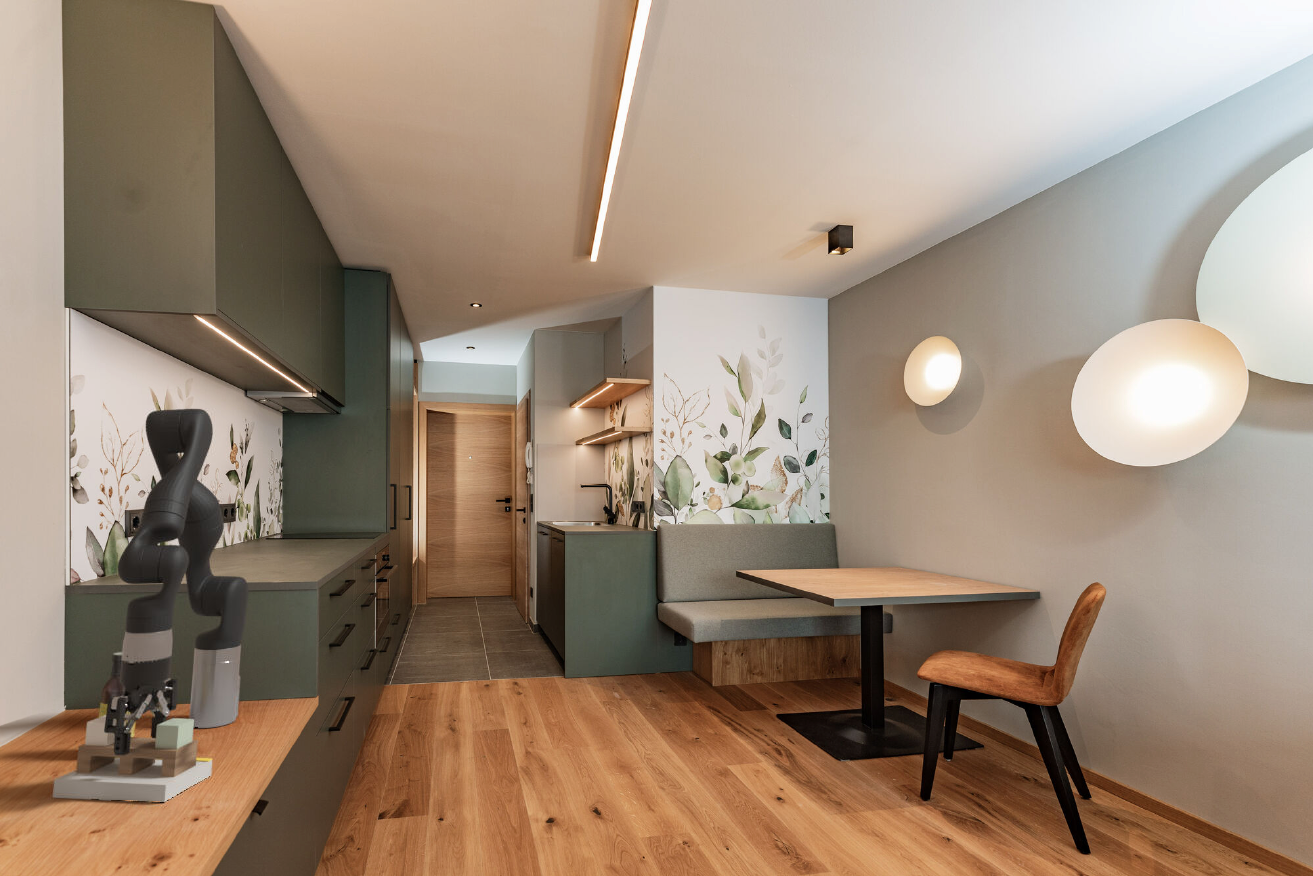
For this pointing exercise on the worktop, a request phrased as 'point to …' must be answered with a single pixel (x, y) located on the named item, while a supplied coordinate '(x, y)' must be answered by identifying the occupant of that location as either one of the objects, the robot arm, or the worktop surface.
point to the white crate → (99, 732)
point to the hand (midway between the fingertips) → (140, 745)
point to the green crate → (174, 733)
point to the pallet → (138, 757)
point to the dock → (129, 782)
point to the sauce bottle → (114, 688)
